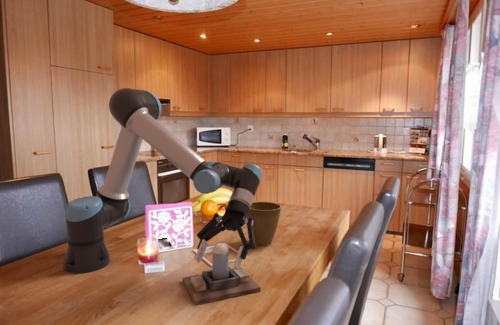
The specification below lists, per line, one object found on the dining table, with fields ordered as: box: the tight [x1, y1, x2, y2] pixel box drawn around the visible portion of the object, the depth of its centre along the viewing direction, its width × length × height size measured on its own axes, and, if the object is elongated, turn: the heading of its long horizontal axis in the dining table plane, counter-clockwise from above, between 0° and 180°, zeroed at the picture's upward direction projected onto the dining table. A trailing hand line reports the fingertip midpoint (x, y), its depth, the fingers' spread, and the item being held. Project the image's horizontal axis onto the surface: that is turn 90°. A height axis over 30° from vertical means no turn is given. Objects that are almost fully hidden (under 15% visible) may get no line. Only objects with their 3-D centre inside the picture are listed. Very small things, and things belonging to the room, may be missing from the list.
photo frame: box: [192, 242, 249, 268], centre depth 136 cm, size 15×1×18 cm
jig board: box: [181, 266, 262, 306], centre depth 110 cm, size 20×16×4 cm
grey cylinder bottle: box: [211, 242, 230, 281], centre depth 110 cm, size 5×5×12 cm
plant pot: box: [246, 201, 282, 247], centre depth 148 cm, size 15×15×16 cm
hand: (216, 264), depth 107 cm, fingers open, 13 cm apart
